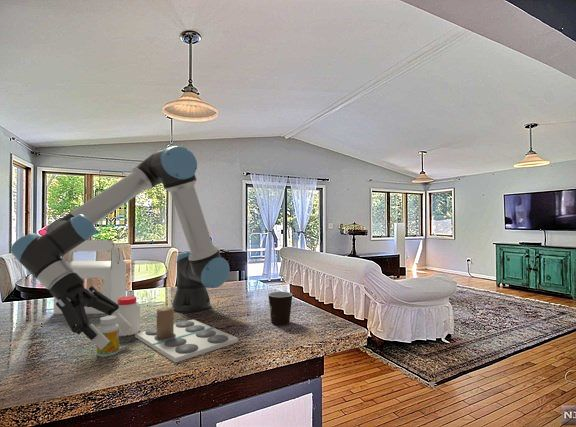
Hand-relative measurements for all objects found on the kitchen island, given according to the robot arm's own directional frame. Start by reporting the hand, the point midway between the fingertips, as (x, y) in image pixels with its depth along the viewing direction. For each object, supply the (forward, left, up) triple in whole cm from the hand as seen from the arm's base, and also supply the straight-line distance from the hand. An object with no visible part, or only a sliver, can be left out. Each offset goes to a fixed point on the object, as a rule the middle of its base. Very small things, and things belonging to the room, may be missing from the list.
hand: (117, 337), depth 92 cm
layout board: (+4, +18, -4) cm, 19 cm away
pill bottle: (-16, +8, -5) cm, 18 cm away
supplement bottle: (-2, -2, -5) cm, 5 cm away
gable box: (-54, +8, -5) cm, 55 cm away
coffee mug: (+12, +51, -5) cm, 53 cm away
